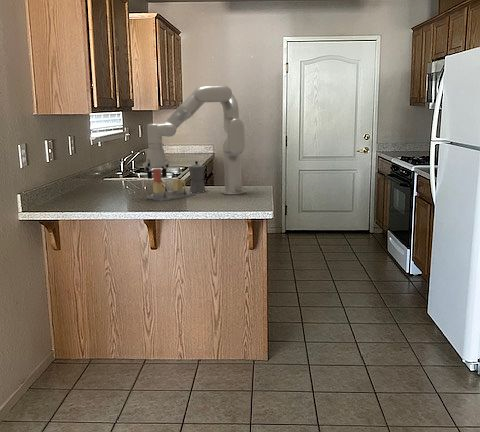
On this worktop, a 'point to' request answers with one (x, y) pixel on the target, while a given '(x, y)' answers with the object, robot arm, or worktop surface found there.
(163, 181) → the grey stapler
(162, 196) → the gauge plate
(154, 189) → the block
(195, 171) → the coffeepot
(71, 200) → the worktop surface
